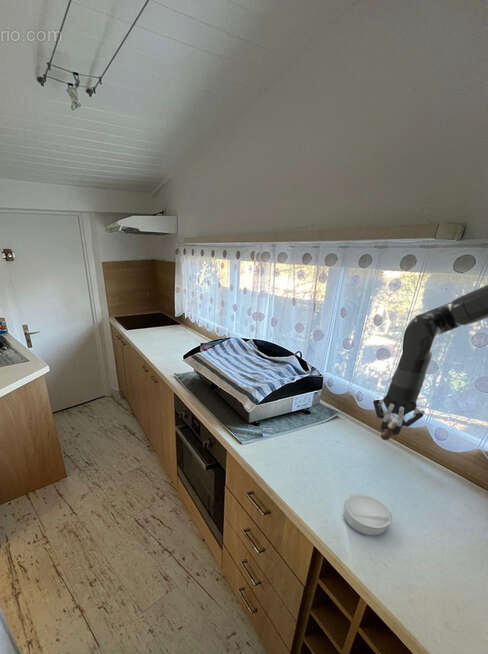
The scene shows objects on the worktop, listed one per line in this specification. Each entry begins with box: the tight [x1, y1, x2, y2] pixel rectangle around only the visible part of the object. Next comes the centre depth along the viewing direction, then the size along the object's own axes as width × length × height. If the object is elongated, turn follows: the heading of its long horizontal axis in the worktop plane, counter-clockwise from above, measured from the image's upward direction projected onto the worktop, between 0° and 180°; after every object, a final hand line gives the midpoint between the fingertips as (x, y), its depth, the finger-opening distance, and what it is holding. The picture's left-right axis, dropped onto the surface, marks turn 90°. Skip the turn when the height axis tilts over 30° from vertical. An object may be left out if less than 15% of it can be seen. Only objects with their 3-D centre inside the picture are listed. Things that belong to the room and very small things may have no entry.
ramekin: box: [343, 493, 393, 536], centre depth 82 cm, size 11×11×5 cm
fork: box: [380, 415, 398, 441], centre depth 98 cm, size 19×2×2 cm, turn 135°
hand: (389, 432), depth 96 cm, fingers closed on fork, 2 cm apart
